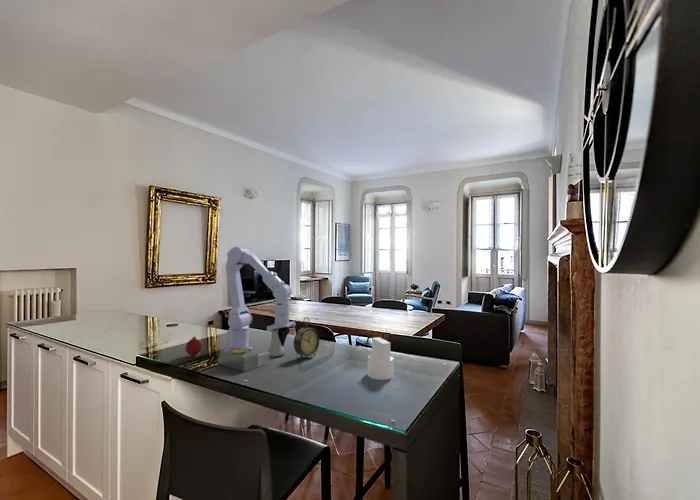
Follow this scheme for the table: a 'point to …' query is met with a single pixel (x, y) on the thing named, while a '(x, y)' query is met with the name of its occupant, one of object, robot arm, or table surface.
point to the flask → (275, 345)
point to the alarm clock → (306, 341)
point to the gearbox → (243, 358)
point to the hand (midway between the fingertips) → (281, 346)
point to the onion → (193, 347)
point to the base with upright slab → (380, 360)
